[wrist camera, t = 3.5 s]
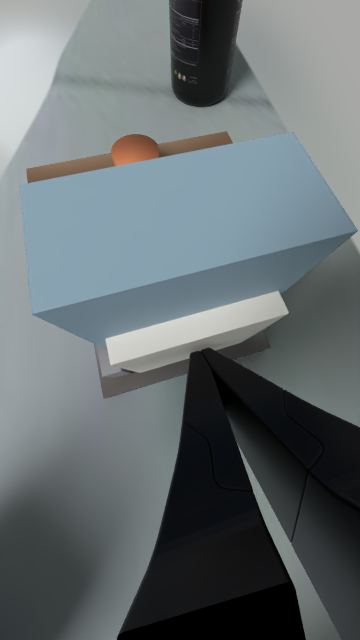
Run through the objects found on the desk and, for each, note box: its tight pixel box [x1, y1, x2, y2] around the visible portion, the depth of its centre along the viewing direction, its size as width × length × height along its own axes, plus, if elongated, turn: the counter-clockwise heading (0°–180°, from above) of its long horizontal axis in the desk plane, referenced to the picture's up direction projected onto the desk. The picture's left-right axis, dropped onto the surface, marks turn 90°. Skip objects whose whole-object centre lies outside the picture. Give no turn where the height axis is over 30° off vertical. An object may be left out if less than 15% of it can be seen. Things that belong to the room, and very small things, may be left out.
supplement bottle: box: [169, 0, 243, 106], centre depth 19 cm, size 7×7×12 cm
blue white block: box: [20, 132, 358, 373], centre depth 9 cm, size 4×6×11 cm, turn 106°
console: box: [26, 131, 270, 398], centre depth 13 cm, size 13×12×8 cm
